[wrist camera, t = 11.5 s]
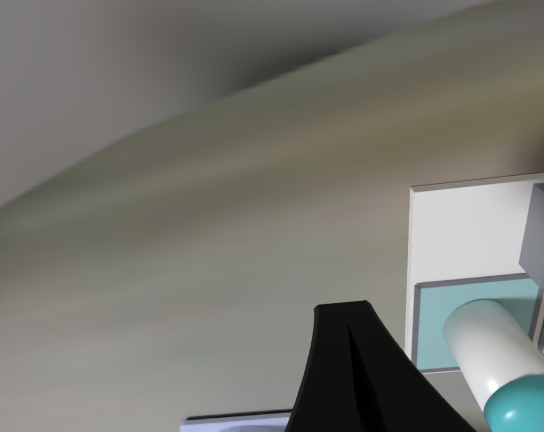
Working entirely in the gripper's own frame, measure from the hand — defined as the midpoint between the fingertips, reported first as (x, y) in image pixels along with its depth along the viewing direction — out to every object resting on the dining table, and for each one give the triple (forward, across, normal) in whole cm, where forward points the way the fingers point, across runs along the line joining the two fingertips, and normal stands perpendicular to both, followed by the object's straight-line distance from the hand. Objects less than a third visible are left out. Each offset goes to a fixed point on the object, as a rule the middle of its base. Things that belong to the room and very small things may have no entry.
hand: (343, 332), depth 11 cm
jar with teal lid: (+9, -8, +9) cm, 15 cm away
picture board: (+10, -11, +7) cm, 16 cm away
